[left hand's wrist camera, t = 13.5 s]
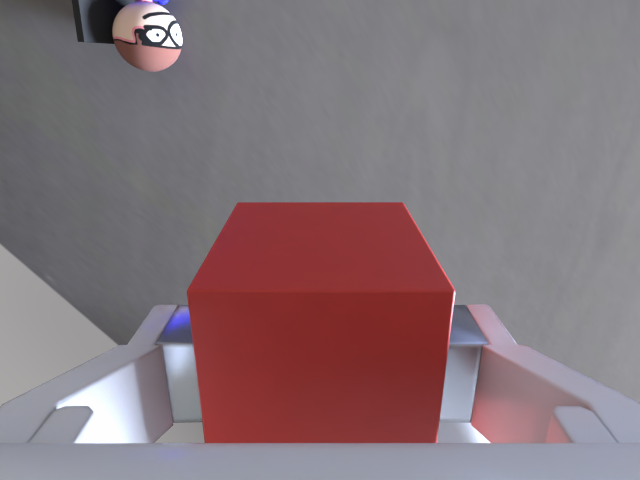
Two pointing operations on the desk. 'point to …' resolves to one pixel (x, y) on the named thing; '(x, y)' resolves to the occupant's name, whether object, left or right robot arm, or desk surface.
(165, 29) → the character figurine
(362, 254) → the brick
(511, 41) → the desk surface
